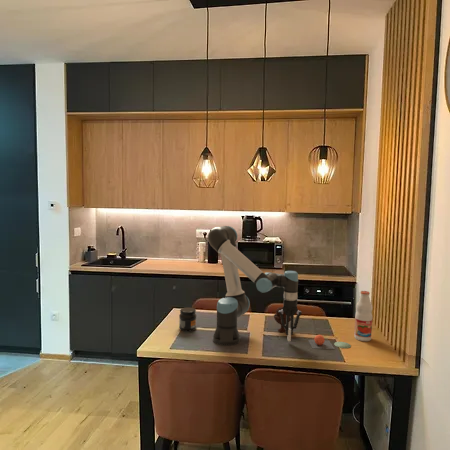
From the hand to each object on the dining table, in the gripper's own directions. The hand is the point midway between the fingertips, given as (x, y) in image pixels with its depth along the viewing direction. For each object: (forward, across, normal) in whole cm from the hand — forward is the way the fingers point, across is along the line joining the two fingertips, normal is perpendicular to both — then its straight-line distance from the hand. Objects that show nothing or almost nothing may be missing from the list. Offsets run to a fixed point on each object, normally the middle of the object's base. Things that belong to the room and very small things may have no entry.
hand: (288, 340), depth 211 cm
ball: (-1, +17, 0) cm, 17 cm away
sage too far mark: (+2, +30, 0) cm, 30 cm away
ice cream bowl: (+2, -1, +20) cm, 20 cm away
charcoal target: (+2, +18, 0) cm, 18 cm away
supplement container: (+2, -59, +19) cm, 62 cm away
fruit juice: (+2, +45, +11) cm, 46 cm away
